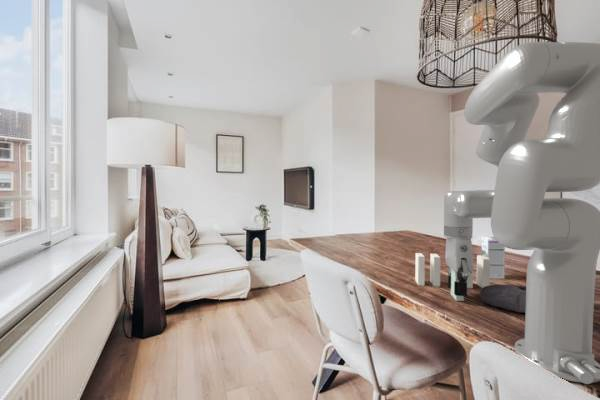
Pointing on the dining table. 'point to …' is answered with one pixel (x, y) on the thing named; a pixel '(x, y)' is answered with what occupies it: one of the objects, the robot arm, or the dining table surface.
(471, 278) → the domino
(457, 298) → the domino
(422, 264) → the domino
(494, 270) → the syrup box
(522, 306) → the perforated stone tool
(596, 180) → the robot arm
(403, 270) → the dining table surface
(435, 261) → the domino
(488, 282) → the domino
